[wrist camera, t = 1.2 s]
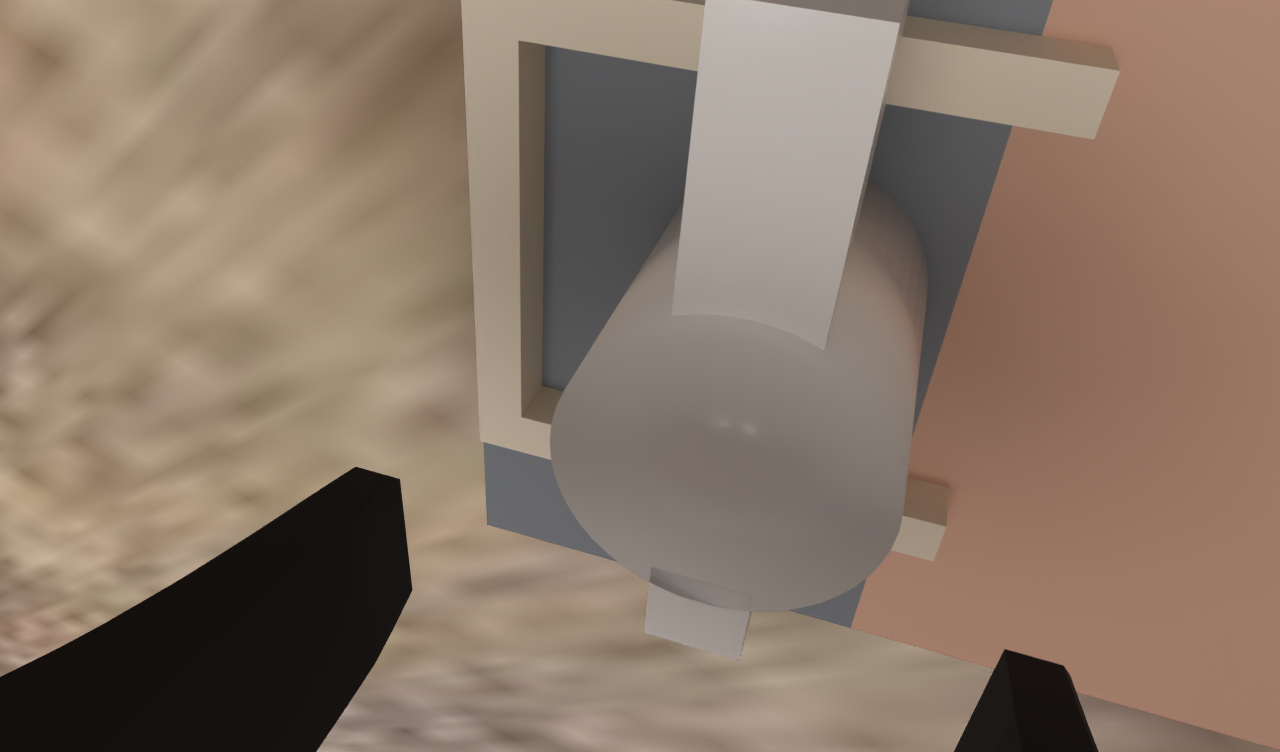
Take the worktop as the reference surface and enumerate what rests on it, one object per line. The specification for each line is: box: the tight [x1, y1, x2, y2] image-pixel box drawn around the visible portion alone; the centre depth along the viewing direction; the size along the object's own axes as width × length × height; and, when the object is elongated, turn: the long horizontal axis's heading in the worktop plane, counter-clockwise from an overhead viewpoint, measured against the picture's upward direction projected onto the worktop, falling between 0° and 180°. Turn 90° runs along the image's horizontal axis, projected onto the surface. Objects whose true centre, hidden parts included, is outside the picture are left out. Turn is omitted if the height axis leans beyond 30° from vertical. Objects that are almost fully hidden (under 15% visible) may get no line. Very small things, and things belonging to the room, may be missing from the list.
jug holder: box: [461, 0, 1280, 750], centre depth 17 cm, size 18×19×2 cm
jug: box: [550, 0, 928, 661], centre depth 14 cm, size 10×5×6 cm, turn 176°
